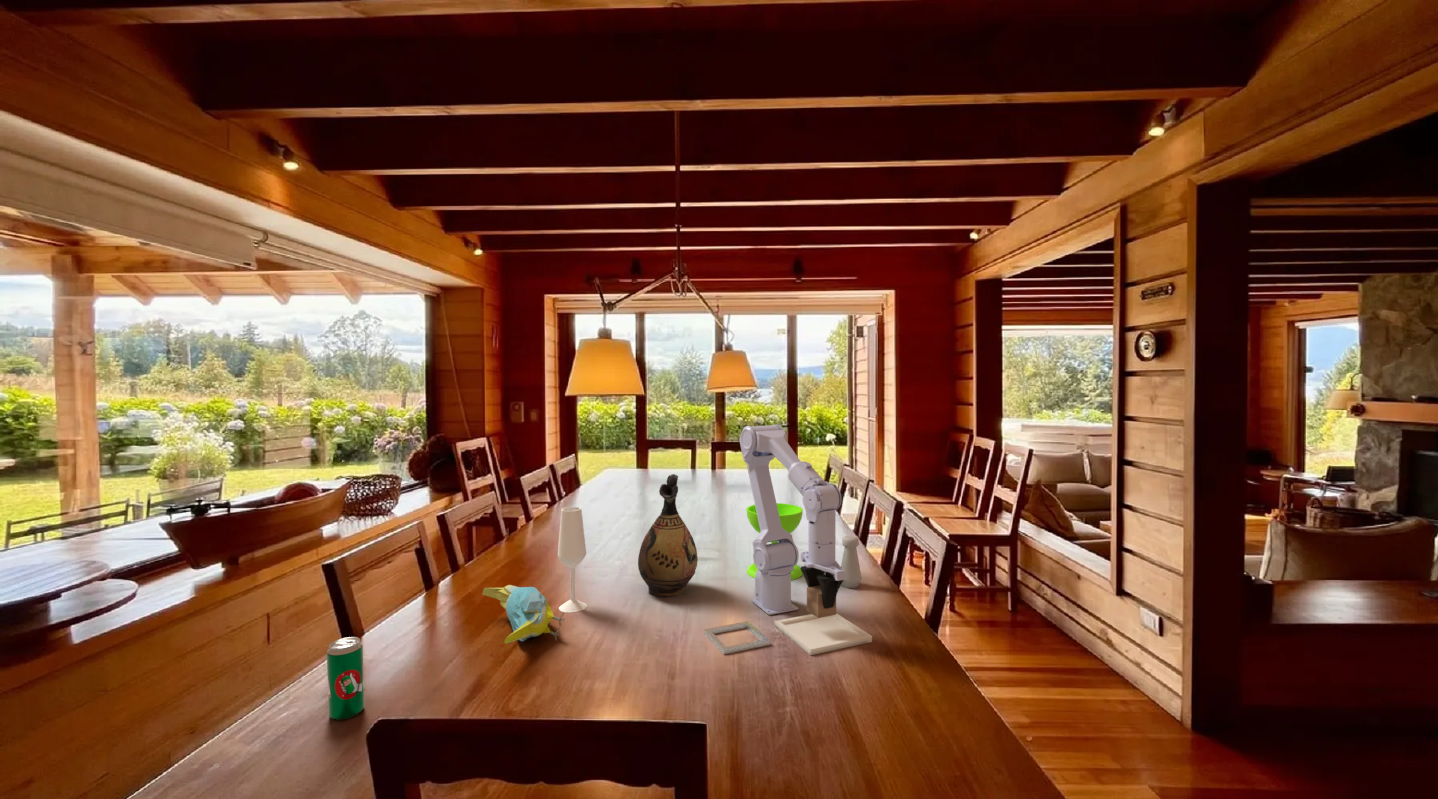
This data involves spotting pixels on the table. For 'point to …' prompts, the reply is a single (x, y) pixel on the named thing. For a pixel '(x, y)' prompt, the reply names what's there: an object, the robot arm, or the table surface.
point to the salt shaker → (851, 562)
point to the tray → (822, 633)
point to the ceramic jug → (668, 548)
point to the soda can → (345, 678)
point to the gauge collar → (740, 647)
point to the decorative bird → (524, 611)
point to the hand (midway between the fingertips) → (821, 603)
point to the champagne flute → (571, 551)
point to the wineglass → (789, 522)
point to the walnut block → (818, 603)
